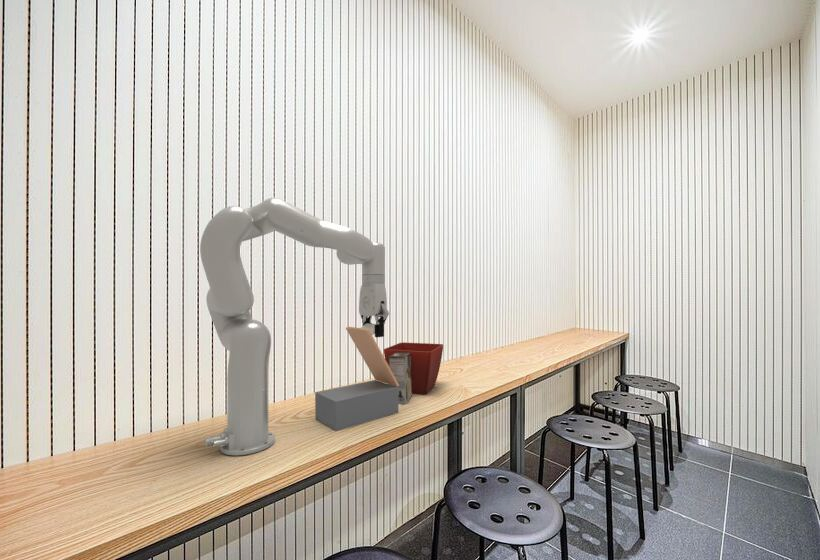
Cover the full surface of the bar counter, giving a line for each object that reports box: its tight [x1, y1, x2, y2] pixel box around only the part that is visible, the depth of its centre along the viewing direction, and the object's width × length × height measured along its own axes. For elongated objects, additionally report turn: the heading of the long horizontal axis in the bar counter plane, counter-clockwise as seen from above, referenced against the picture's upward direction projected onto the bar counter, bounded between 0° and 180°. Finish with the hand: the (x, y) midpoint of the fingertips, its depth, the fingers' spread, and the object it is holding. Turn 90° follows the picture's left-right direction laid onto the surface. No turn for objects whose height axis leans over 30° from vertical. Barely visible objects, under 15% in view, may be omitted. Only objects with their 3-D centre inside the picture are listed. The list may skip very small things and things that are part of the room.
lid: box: [345, 323, 399, 387], centre depth 115 cm, size 22×12×6 cm
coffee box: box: [388, 353, 413, 405], centre depth 125 cm, size 9×6×16 cm
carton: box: [314, 379, 399, 432], centre depth 110 cm, size 22×13×8 cm, turn 130°
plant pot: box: [383, 341, 444, 395], centre depth 139 cm, size 19×19×17 cm
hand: (373, 335), depth 114 cm, fingers closed on lid, 6 cm apart
